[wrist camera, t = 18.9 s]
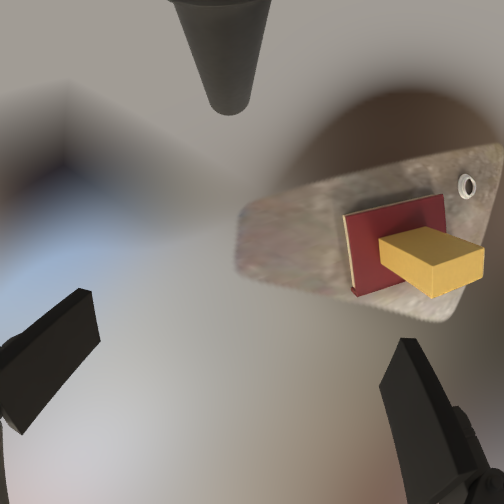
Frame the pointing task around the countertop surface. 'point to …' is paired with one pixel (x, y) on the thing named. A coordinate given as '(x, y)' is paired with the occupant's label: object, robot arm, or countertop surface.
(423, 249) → the small book
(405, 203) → the big book
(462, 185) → the upside-down white bowl
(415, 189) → the countertop surface
